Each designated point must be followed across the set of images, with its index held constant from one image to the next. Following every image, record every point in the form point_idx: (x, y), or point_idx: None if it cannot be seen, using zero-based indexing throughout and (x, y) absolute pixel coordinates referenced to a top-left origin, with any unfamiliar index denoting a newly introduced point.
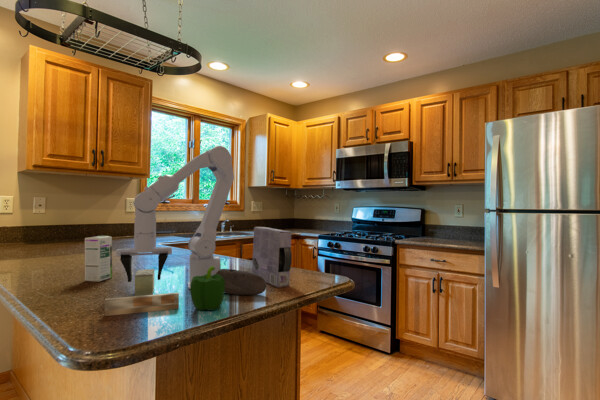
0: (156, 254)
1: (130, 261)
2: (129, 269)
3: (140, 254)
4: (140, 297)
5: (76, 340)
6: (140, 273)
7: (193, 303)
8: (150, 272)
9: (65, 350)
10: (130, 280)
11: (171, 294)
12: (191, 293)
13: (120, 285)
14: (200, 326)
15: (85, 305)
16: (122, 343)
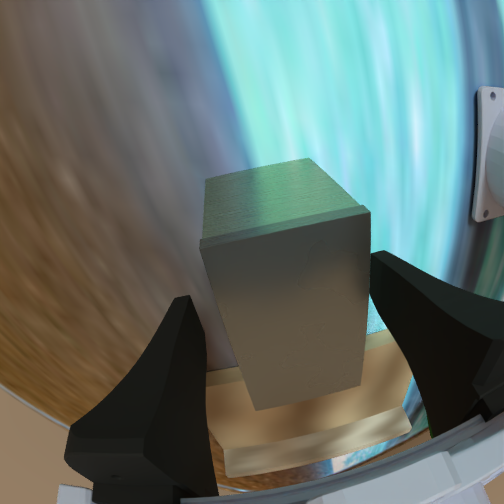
0: (448, 438)
1: (196, 454)
2: (204, 417)
3: (297, 497)
4: (315, 460)
5: (234, 483)
6: (278, 375)
7: (426, 412)
8: (345, 350)
9: (237, 491)
10: (203, 341)
11: (392, 437)
12: (431, 436)
13: (42, 56)
14: (405, 441)
15: (106, 385)
16: (302, 481)
